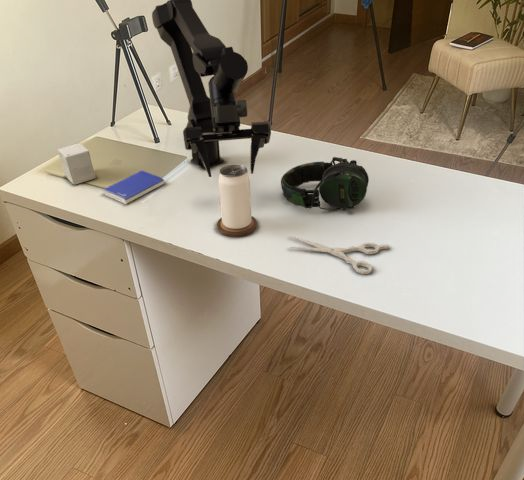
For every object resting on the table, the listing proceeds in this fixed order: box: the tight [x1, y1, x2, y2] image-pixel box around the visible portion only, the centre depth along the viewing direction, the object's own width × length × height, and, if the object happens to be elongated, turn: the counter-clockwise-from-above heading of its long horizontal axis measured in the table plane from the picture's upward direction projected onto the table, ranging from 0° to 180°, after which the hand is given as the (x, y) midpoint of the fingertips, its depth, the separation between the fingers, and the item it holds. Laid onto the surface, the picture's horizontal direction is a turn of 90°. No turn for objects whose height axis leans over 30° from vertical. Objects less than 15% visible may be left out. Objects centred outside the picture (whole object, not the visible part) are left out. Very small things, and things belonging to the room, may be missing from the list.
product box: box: [57, 142, 97, 186], centre depth 133 cm, size 6×6×7 cm
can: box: [218, 163, 252, 229], centre depth 112 cm, size 6×6×12 cm
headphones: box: [280, 156, 370, 211], centre depth 121 cm, size 13×13×20 cm
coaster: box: [216, 215, 258, 238], centre depth 117 cm, size 9×9×1 cm
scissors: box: [291, 236, 390, 275], centre depth 108 cm, size 11×1×20 cm
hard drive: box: [102, 170, 165, 205], centre depth 130 cm, size 2×8×12 cm
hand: (231, 174), depth 116 cm, fingers open, 9 cm apart
